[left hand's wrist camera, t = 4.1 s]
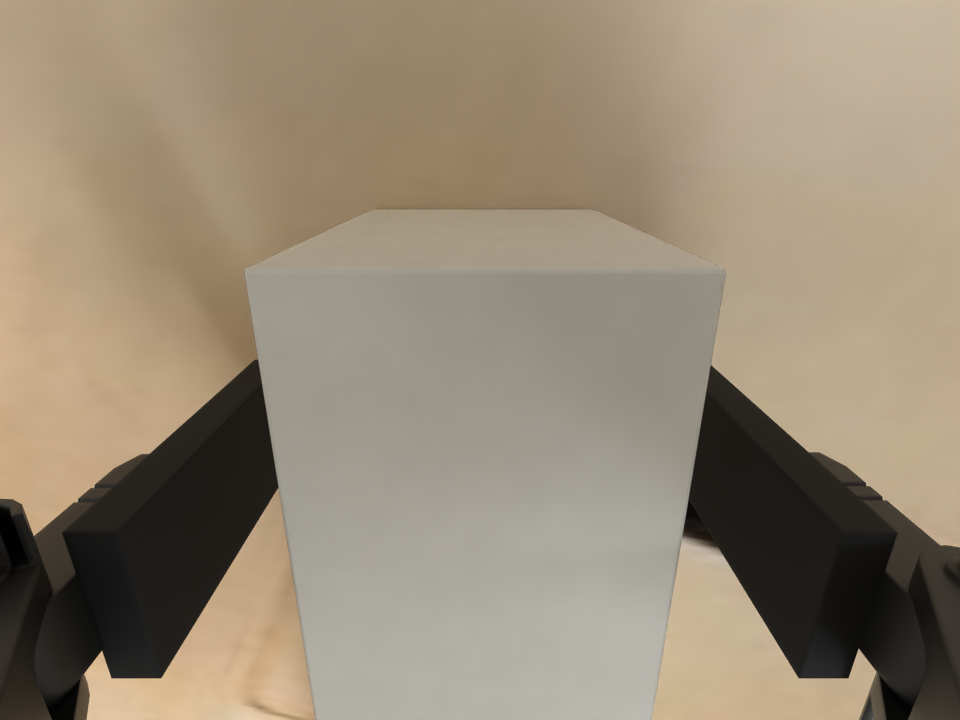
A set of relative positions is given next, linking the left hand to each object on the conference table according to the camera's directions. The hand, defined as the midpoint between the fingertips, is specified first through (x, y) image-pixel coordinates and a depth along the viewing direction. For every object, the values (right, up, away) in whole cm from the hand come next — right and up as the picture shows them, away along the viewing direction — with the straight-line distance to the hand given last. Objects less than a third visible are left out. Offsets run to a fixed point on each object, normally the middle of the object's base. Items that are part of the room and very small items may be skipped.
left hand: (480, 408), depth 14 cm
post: (0, -33, +14) cm, 35 cm away
